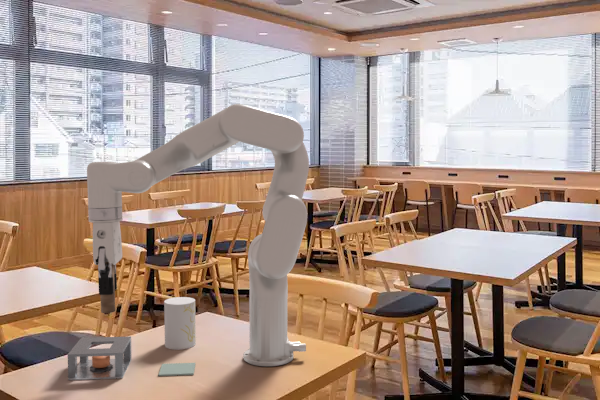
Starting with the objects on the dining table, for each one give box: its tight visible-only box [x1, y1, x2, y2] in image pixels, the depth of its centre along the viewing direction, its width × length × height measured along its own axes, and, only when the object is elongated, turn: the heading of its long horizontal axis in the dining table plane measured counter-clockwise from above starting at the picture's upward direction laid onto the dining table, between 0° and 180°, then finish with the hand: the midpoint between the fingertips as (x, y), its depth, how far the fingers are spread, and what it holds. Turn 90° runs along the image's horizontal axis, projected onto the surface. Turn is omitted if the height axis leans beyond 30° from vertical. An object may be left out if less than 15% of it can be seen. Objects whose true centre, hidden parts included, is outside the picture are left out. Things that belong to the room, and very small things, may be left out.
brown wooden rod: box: [100, 262, 116, 314], centre depth 140 cm, size 3×3×13 cm
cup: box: [163, 296, 197, 351], centre depth 160 cm, size 8×8×12 cm
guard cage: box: [67, 336, 133, 381], centre depth 141 cm, size 12×12×6 cm
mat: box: [158, 362, 196, 377], centre depth 142 cm, size 8×7×1 cm
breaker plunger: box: [91, 356, 111, 368], centre depth 141 cm, size 4×4×2 cm
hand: (108, 291), depth 140 cm, fingers closed on brown wooden rod, 3 cm apart
